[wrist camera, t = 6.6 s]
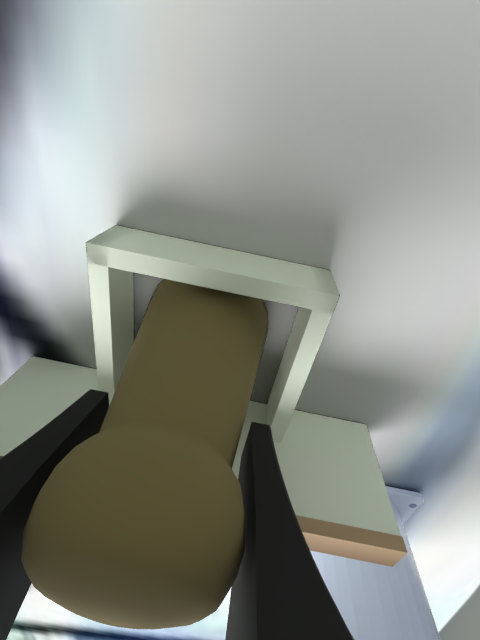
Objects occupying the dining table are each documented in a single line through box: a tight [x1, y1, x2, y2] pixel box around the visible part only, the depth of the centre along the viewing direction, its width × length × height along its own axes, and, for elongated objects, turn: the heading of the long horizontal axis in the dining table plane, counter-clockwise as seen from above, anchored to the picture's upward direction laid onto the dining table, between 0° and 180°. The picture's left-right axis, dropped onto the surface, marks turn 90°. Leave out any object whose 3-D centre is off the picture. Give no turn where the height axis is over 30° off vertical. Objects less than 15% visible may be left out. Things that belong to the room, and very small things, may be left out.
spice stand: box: [0, 225, 408, 567], centre depth 13 cm, size 10×20×7 cm, turn 80°
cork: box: [21, 279, 268, 629], centre depth 11 cm, size 6×6×11 cm
